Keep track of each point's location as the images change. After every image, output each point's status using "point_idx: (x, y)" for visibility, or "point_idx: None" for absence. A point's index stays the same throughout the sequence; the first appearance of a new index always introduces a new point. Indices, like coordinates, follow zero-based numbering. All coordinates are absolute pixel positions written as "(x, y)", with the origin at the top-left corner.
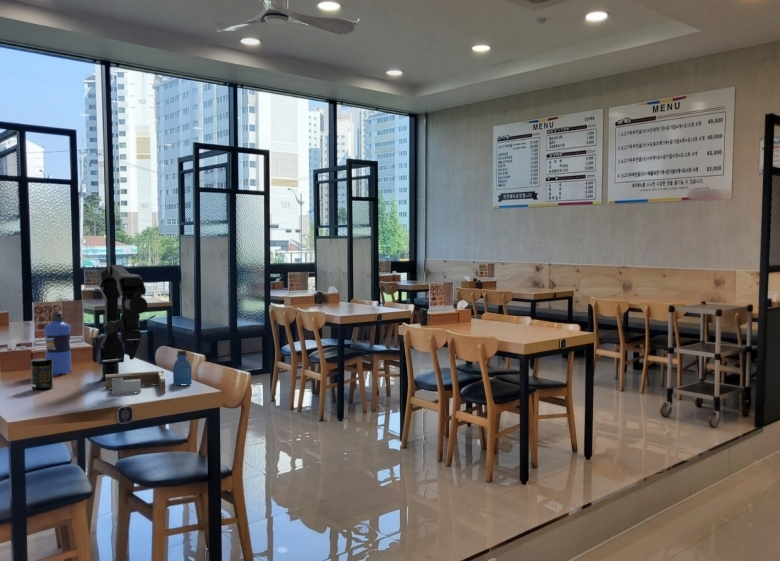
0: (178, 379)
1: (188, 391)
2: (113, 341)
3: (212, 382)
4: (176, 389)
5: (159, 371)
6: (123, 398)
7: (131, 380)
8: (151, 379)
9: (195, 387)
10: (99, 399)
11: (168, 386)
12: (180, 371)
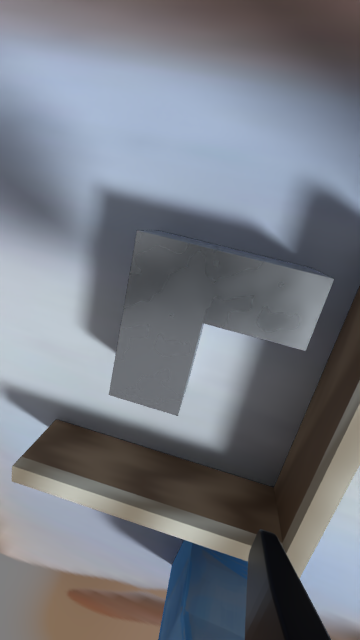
0: (184, 559)
1: (49, 502)
2: None
3: None
4: None
5: None
6: (38, 257)
7: (157, 360)
8: (290, 487)
9: (110, 549)
10: (74, 138)
11: None
12: (173, 612)
